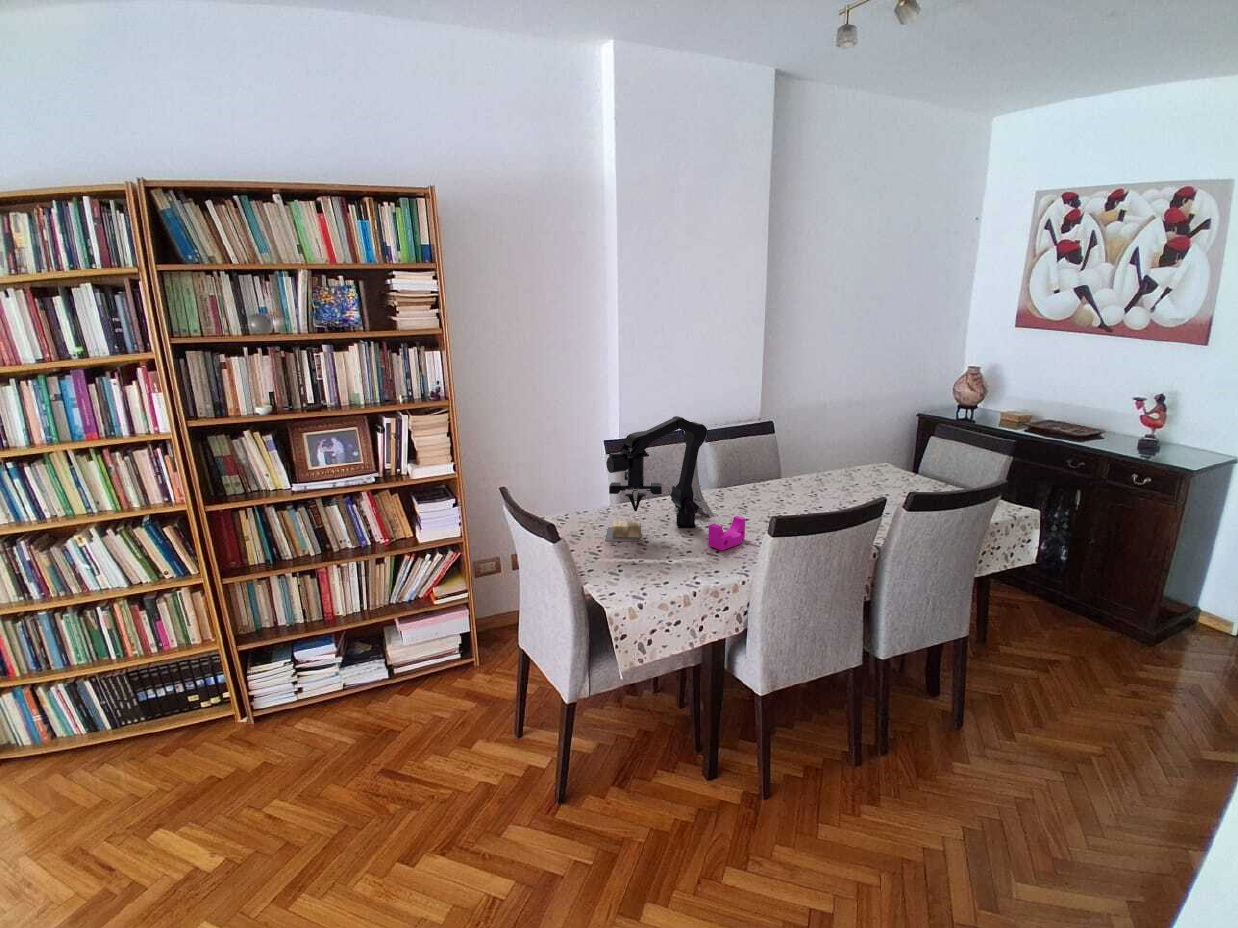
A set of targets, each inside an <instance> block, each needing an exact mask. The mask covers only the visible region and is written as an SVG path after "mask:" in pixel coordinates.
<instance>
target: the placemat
mask: <svg viewBox="0 0 1238 928" xmlns="http://www.w3.org/2000/svg"><path fill="white" fill-rule="evenodd" d="M639 541H640V537H613V526H609V527H607V530H606V534H605V538H604V542H619V543H620V542H621V543H622V542H628V543H630V542H632V543H633V542H634V543H635V542H636V543H637V542H639Z"/></svg>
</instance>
